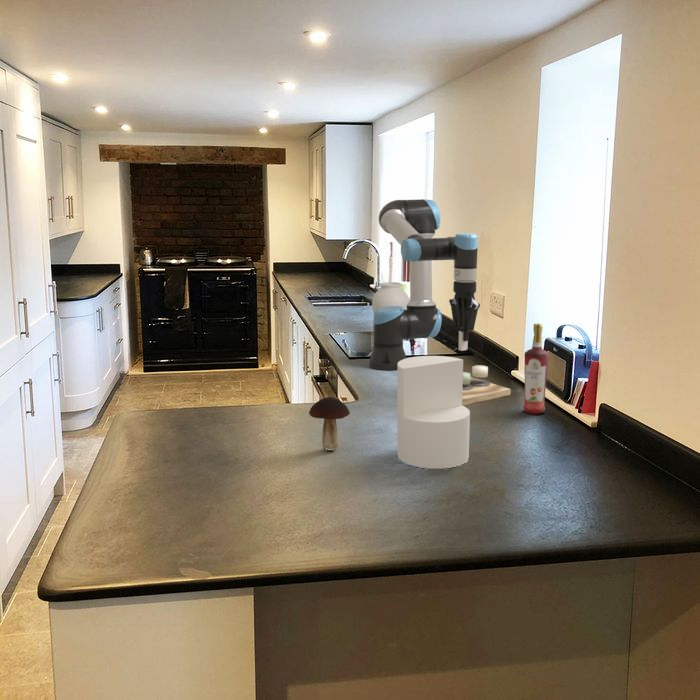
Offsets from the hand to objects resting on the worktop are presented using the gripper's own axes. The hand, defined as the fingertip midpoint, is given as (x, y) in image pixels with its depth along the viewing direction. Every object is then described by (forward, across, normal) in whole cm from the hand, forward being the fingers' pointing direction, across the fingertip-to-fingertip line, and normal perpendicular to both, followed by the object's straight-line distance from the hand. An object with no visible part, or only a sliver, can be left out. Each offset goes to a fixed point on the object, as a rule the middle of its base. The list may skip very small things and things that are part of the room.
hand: (462, 349), depth 244 cm
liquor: (+15, +29, +4) cm, 33 cm away
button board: (+15, 0, 0) cm, 15 cm away
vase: (+17, -95, +39) cm, 104 cm away
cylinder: (+15, +41, -46) cm, 64 cm away
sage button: (+11, 0, 0) cm, 11 cm away
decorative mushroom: (+15, +22, -67) cm, 72 cm away
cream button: (+10, 0, +8) cm, 13 cm away
